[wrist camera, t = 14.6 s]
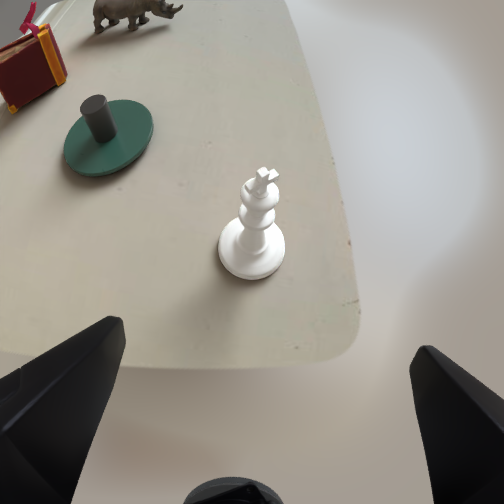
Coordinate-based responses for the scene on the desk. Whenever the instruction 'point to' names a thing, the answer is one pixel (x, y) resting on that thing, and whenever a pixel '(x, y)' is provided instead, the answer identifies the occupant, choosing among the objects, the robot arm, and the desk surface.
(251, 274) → the chess piece
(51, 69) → the book monster
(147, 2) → the rhino figurine
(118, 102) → the pot lid
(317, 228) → the desk surface
